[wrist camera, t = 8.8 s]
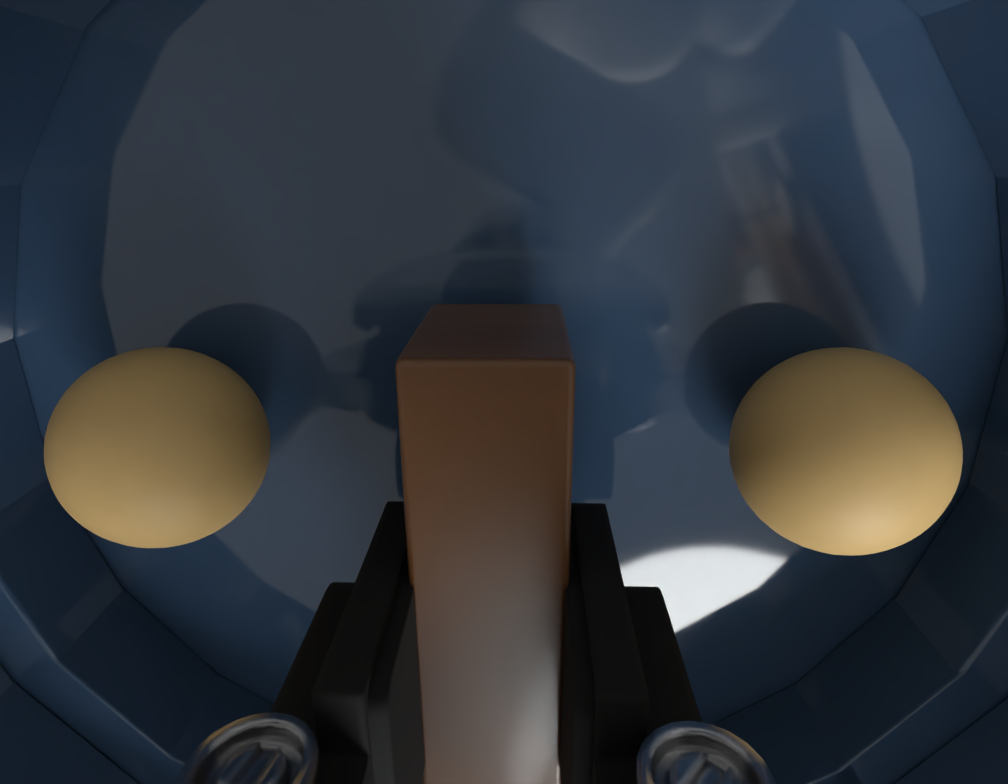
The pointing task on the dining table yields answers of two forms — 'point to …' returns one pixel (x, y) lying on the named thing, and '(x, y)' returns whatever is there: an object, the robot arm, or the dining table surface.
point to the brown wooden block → (489, 534)
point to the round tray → (507, 280)
